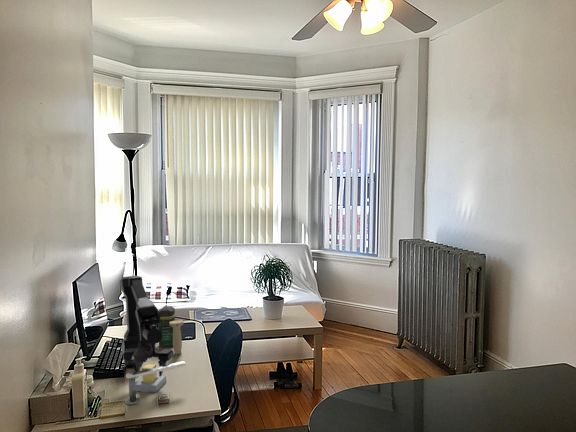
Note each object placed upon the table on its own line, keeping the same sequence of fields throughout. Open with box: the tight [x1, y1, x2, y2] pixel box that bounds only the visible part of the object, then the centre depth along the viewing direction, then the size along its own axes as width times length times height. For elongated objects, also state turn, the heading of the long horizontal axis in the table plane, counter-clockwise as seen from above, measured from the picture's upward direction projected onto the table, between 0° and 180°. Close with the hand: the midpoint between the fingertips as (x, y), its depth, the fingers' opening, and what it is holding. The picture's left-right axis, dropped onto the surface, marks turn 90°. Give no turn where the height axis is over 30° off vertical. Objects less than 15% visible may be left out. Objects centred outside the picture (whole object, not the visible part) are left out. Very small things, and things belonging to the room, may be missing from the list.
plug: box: [141, 363, 157, 383], centre depth 192 cm, size 4×4×8 cm
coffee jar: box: [157, 305, 176, 348], centre depth 240 cm, size 10×8×19 cm
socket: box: [135, 375, 167, 393], centre depth 192 cm, size 9×9×2 cm
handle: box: [169, 319, 185, 355], centre depth 227 cm, size 5×6×15 cm
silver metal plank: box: [125, 360, 187, 380], centre depth 182 cm, size 22×4×1 cm, turn 122°
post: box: [125, 378, 141, 406], centre depth 178 cm, size 5×5×9 cm
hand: (149, 375), depth 192 cm, fingers open, 9 cm apart
